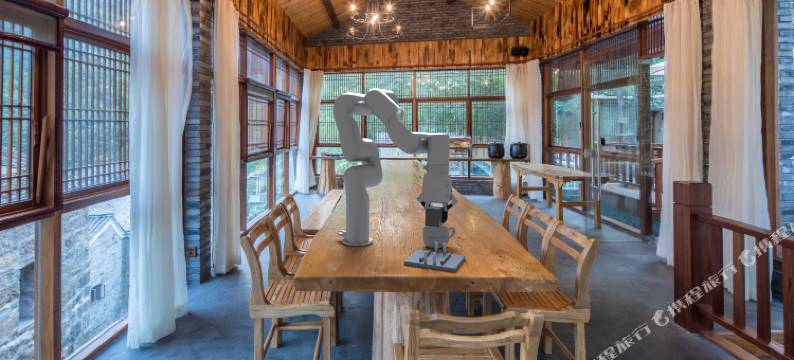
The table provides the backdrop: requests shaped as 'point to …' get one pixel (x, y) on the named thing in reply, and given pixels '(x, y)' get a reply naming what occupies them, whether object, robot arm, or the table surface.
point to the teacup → (437, 235)
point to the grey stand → (435, 259)
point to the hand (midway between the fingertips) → (436, 220)
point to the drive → (434, 215)
